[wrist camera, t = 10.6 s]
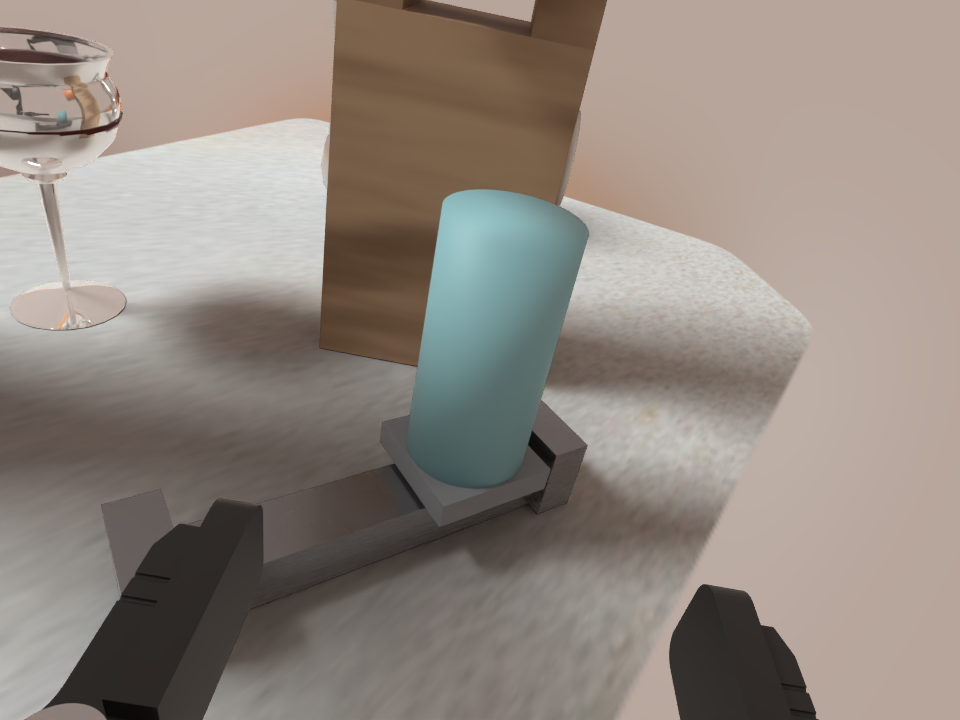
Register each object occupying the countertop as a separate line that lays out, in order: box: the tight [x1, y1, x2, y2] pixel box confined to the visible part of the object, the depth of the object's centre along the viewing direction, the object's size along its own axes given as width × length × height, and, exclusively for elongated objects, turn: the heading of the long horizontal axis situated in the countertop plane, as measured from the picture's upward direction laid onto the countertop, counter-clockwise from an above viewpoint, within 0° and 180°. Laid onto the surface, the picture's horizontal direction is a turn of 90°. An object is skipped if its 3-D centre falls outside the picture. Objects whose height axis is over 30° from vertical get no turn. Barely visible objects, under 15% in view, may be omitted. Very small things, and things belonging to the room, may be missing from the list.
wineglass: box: [0, 26, 126, 330], centre depth 29 cm, size 7×7×12 cm
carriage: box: [380, 189, 589, 527], centre depth 22 cm, size 5×5×10 cm
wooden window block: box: [319, 0, 607, 366], centre depth 29 cm, size 6×10×24 cm, turn 86°
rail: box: [101, 400, 588, 609], centre depth 23 cm, size 4×16×3 cm, turn 123°
